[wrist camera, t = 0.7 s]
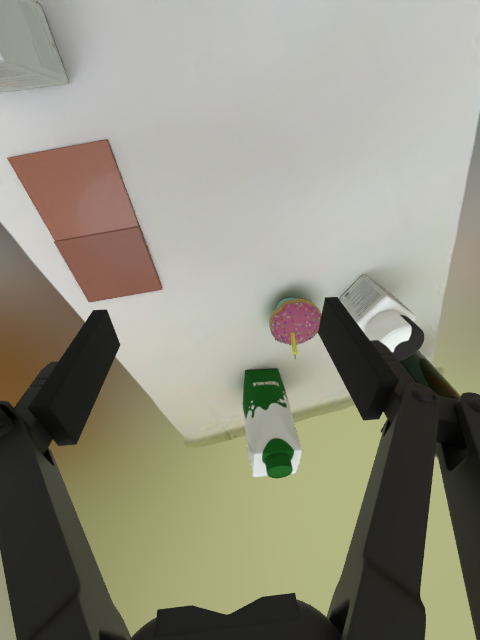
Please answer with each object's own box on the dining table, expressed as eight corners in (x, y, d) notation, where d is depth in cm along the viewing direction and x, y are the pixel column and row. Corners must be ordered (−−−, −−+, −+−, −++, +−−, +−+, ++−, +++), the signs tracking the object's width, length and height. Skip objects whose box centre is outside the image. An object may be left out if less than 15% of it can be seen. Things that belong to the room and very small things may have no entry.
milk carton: (282, 365, 54) (310, 462, 38) (278, 393, 60) (302, 488, 43) (240, 367, 54) (251, 466, 38) (240, 395, 59) (250, 493, 43)
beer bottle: (409, 367, 58) (576, 564, 31) (362, 378, 59) (487, 578, 32) (417, 332, 52) (631, 539, 25) (365, 344, 53) (520, 557, 26)
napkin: (8, 157, 31) (5, 158, 30) (107, 139, 30) (105, 139, 30) (90, 300, 42) (88, 302, 42) (162, 288, 42) (161, 289, 41)
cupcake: (275, 333, 49) (290, 381, 40) (257, 299, 45) (269, 345, 35) (318, 315, 48) (345, 360, 38) (304, 278, 43) (330, 319, 33)
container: (391, 293, 46) (443, 339, 36) (358, 323, 50) (397, 374, 39) (362, 273, 43) (410, 316, 33) (330, 306, 47) (364, 356, 36)
